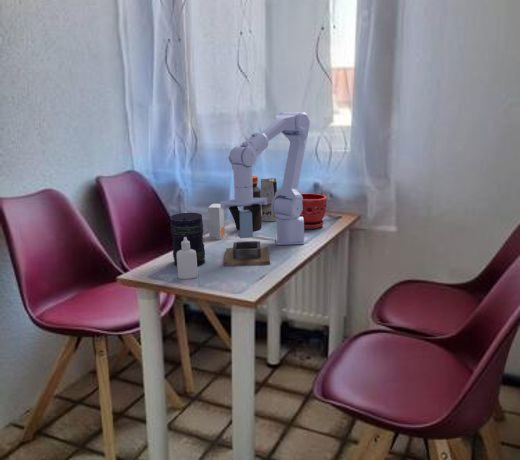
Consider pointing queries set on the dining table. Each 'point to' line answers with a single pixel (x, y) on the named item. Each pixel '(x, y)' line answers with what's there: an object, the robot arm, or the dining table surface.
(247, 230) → the peg
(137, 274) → the dining table surface
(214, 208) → the skincare box
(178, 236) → the storage jar
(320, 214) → the plant pot
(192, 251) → the eye dropper bottle
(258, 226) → the vinegar
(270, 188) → the coffee box
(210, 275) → the dining table surface
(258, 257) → the socket
